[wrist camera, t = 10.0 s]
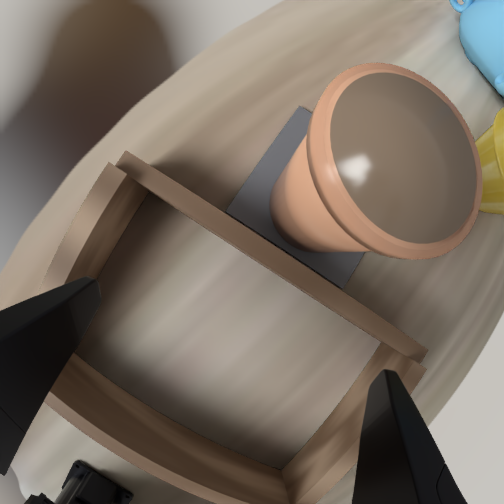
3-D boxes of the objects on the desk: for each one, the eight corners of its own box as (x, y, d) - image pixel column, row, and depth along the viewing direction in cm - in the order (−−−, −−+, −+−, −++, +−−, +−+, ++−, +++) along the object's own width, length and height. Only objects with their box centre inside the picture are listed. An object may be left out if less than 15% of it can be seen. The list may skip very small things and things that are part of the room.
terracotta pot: (330, 276, 21) (444, 299, 9) (244, 219, 21) (269, 168, 8) (376, 195, 22) (497, 147, 9) (298, 139, 21) (367, 32, 9)
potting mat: (341, 288, 22) (343, 289, 21) (225, 211, 21) (225, 211, 21) (400, 181, 22) (402, 180, 22) (298, 107, 22) (299, 105, 21)
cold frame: (287, 483, 21) (298, 527, 15) (47, 344, 20) (5, 365, 14) (401, 337, 22) (444, 357, 16) (143, 167, 21) (114, 139, 15)
